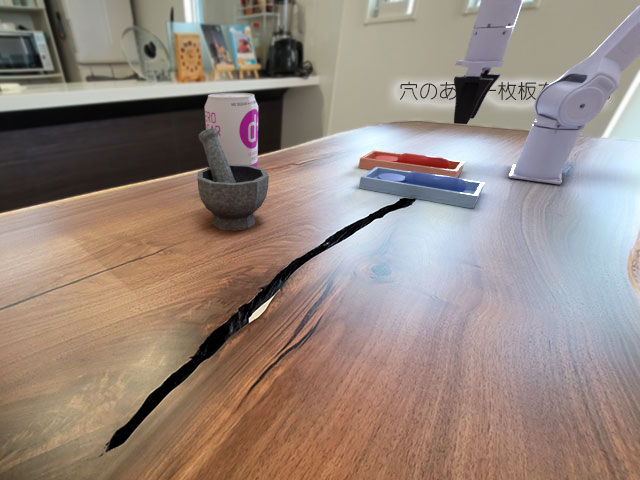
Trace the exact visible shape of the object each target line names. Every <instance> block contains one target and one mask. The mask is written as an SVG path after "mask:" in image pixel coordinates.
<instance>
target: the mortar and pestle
mask: <svg viewBox="0 0 640 480" xmlns="http://www.w3.org/2000/svg"><path fill="white" fill-rule="evenodd" d="M198 139H199V142H200V143H201V144H202V146H203V149H204V153H205V157H206V160H207V164H208V163H209V168H208V167H206V168H204V169H201V170H199V171H197V190H198V193H199V198H200V201H201V202H202V204H203V205H204V207H205V209H206V210H208V211H209V212H210V213H211V214H212V225H213V227H216V228H218V229H219V230H222V231H233V232H236V231H242V230H247V229H250V228H251V227H252V226H254V225H255V223H256V219H255V214H254V213H255V212H257V211H258V210H259V209H260V208H261V207H262V205H263V204H264V202H265V200H266V198H267V194H268V190H269V180H270V179H269V178H270V176H269V174H268V172H267V169H265V168H261V167H259V166H257V167H255V166H251V165H232V164H230V165H229V164H228V162H227V159H226V157H225V154H224V152H223V149H222V147H221V144H220V142H219V139H218V131H217V129H215V128H210V129H206V128H205V129H204V130H202V131H201V132H200V133H199V134H198Z"/></svg>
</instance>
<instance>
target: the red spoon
mask: <svg viewBox="0 0 640 480" xmlns="http://www.w3.org/2000/svg"><path fill="white" fill-rule="evenodd" d="M400 154H401V155H400V156H399V158H397V157H394V156H376V157H375V159H376V160H383V161H391V162H398V163H405V164H413V165H420V166H427V167H435V168H442V169H448V167H449V160H450V159H448V158H446V157H441V156H434V155H433V156H432V155H425V154H417V153H407V152H404V153H400Z"/></svg>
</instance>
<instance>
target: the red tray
mask: <svg viewBox="0 0 640 480" xmlns="http://www.w3.org/2000/svg"><path fill="white" fill-rule="evenodd" d="M401 154H402V153H397V152H390V151H389V152H388V151H381V150H371V151H369V152H368V153H367V154H365V155H363V156H361V157H359V162H358V167H357V168H358V169H363V170H368V171H371V170H372V169H374V168H375V167H382V168H389V169H395V170H402V171H409V172H420V173H427V174H434V175H441V176H448V177H455V178H459V176H460V175H461V173H462V171H463V168H464V166H465V161H462V160H454V159H448V160H449V167H448V169H442V168H435V167H427V166H420V165H413V164H405V163H398V162H391V161H383V160H376V159H375V157H376V156H394V157H397V158H399V156H400V155H401Z"/></svg>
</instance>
